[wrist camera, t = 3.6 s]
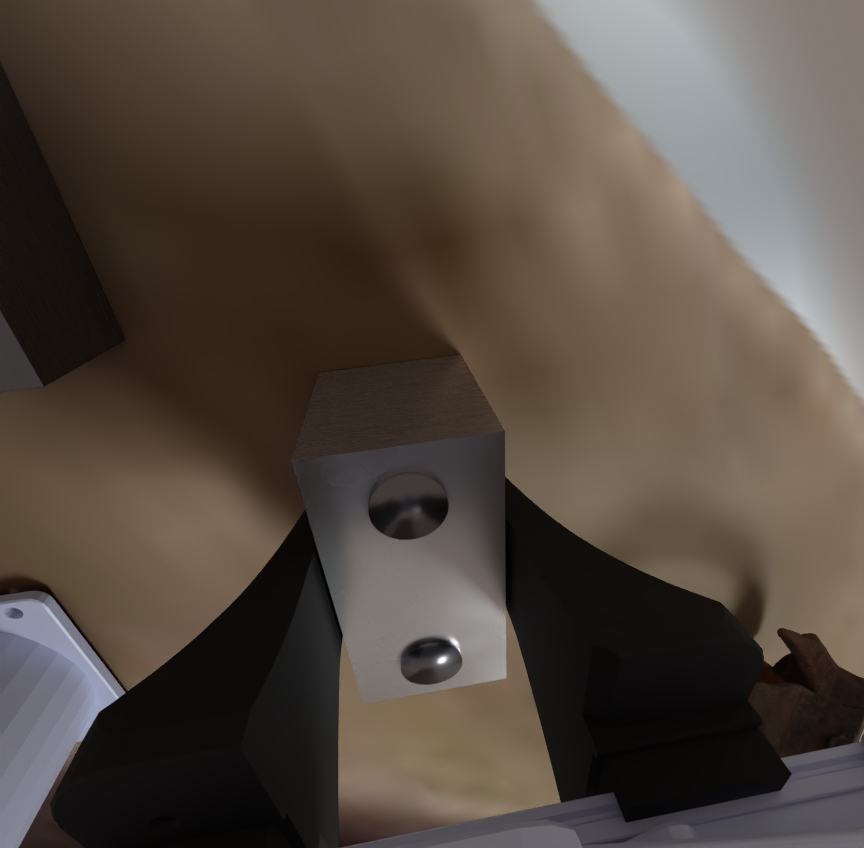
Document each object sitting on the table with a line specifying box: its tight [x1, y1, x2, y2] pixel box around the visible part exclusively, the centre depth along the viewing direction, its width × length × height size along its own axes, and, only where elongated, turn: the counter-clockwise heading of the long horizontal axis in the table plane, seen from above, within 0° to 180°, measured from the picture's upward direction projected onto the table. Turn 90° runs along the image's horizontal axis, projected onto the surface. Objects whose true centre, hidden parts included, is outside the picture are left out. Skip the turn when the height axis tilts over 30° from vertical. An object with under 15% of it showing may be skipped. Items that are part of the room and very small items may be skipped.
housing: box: [291, 354, 506, 704], centre depth 12 cm, size 8×4×5 cm, turn 5°
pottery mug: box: [748, 628, 864, 758], centre depth 19 cm, size 12×10×8 cm
